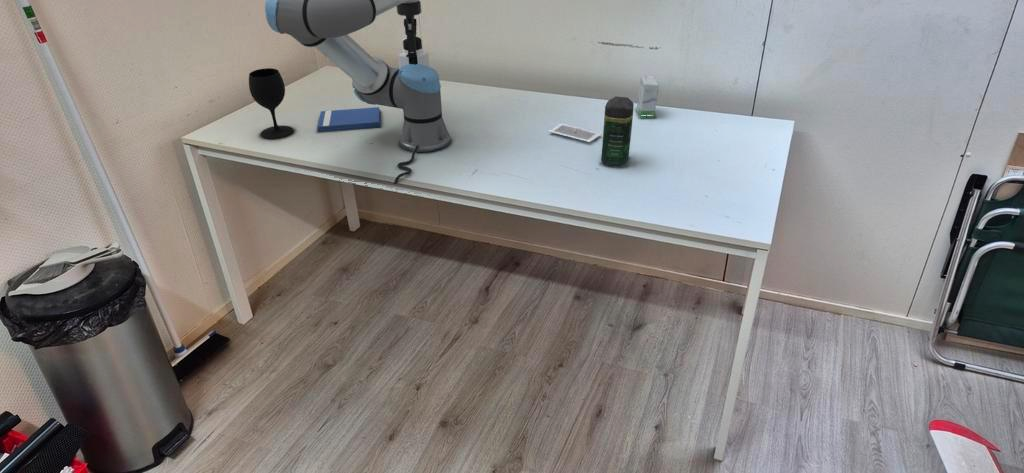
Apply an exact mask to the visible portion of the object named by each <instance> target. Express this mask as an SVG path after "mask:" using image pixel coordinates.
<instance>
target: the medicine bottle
mask: <svg viewBox="0 0 1024 473" xmlns="http://www.w3.org/2000/svg"><path fill="white" fill-rule="evenodd" d="M415 42H416V54H417V61H418V64H421V65H426V66H429V67H430V57H429V56H430V54H429V52H428V51H424V50H423V42H422V39H421V37H418V36H416V37H415ZM402 50H403V52H400V53H398V54H397V58H398V69H400V68H401V67H402V66H405V65H409V58H408V57H406V55H408V45H407V36H405V38H403V39H402ZM410 53H414V52H410Z"/></svg>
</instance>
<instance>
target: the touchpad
mask: <svg viewBox="0 0 1024 473" xmlns="http://www.w3.org/2000/svg"><path fill="white" fill-rule="evenodd" d="M548 132H550V133H553V134H557V135H561V136H565V137H569V138H572V139H576V140H580V141H584V142H587V143H590V142H592V141H594V140H596V139H597V138H598V137H599V136H601V135H603V132H599V131H594V130H590V129H586V128H583V127H579V126H573V125H570V124H566V123H562V122H561V123H559V124H557V125H556V126H555V127H552V128H551V129H549V130H548Z"/></svg>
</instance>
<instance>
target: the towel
mask: <svg viewBox="0 0 1024 473" xmlns="http://www.w3.org/2000/svg"><path fill="white" fill-rule="evenodd" d="M376 128H377V129H378V128H381V109H380V107H379V106H376V107H375V106H373V107H362V108H361V107H360V108H348V109H334V110H333V109H332V110H331V109H330V110H321V111H320V113H319V118H318V124H317V133H324V132H325V133H326V132H340V131H351V130H364V129H376Z"/></svg>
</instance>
